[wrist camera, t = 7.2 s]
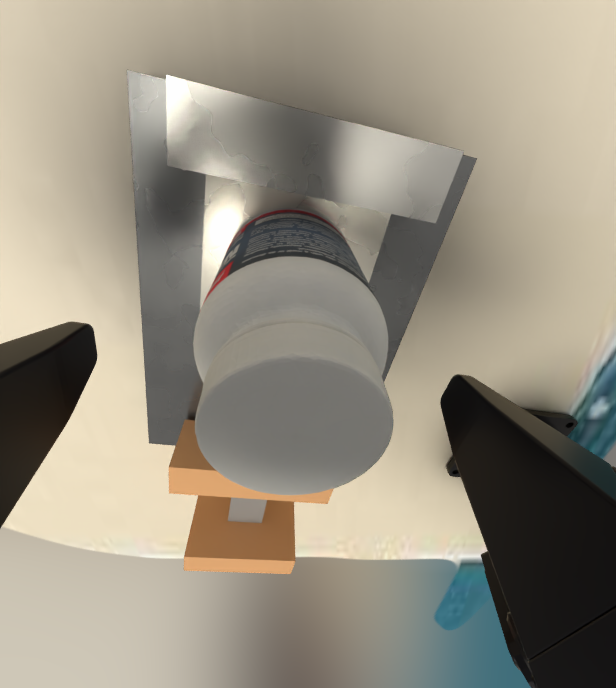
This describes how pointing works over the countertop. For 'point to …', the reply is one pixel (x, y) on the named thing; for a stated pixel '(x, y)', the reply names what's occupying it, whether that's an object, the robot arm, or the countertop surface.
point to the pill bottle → (291, 360)
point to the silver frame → (264, 195)
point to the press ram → (233, 516)
